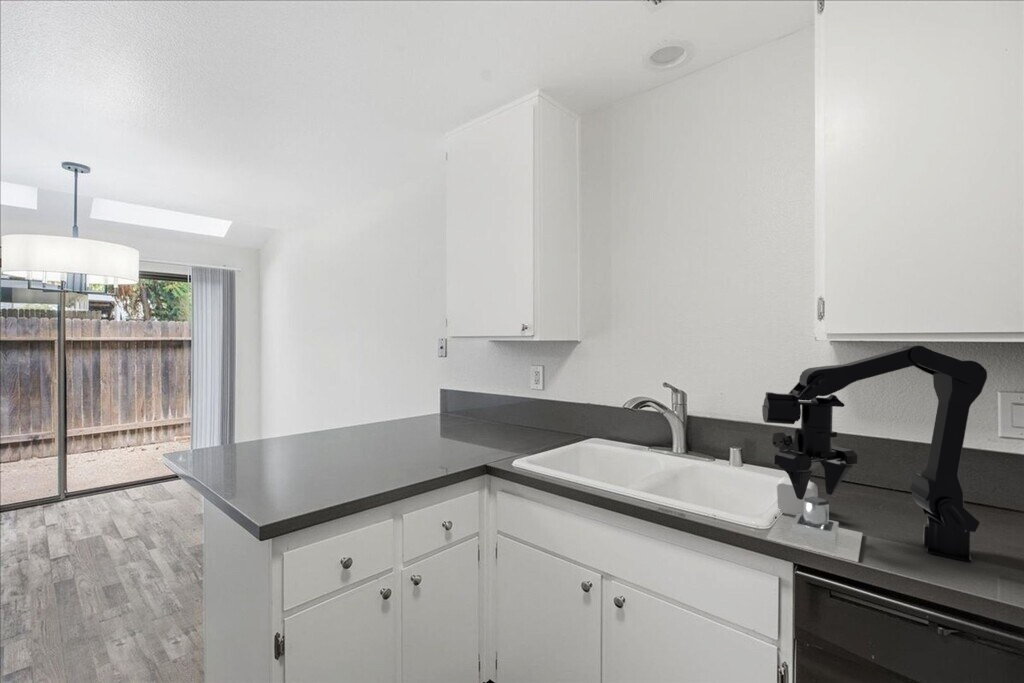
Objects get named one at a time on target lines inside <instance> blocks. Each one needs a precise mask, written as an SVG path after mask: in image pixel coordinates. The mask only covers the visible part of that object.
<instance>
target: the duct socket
mask: <svg viewBox="0 0 1024 683" xmlns="http://www.w3.org/2000/svg"><path fill="white" fill-rule="evenodd" d="M839 524H840V523H839V521H836V520H832V519H829V531H828V530H824V529H819V528H815V527H810V526H806V525H804V515H803V514H799V513H798V514H797V515H796V516H794V517H792V516H787V515H783V514H780V515H779V516H778V518H777V520H776V521H775V523H774V524H773V526H772V528H771V529H770V531H769V532H768V534H767V535H766V540H769V541H773V542H777V543H779V544H785V545H788V546H793V547H797V548H800V549H805V550H807V551H808V550H809V551H814V552H817V553H820V554H823V555H828V556H833V557H836V558H840V559H843V560H844V559H845V560H848V561H852V562H856V563H859V559H860V553H861V547H862V541H863V532H861V531H857V530H852V529H847V528H844V527H839Z"/></svg>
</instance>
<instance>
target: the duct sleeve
mask: <svg viewBox="0 0 1024 683" xmlns="http://www.w3.org/2000/svg"><path fill="white" fill-rule="evenodd" d="M829 502H830V501H829V500H826V499H823V498H820V497H815V496H814V497H807V498H804V525H806V526H810V527H815V528H819V529H824V530H828V531H829V520H830V515H829V514H830V504H829Z"/></svg>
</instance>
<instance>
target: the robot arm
mask: <svg viewBox="0 0 1024 683" xmlns="http://www.w3.org/2000/svg"><path fill="white" fill-rule="evenodd" d="M910 367H915V368H917V369H918V370H920V371H922V372H923V373H926V374H928V375H931V376H932V378H933V379H932V380H933V381H932V382H933V388H934V392H935V394H936V398H937V402H938V403H937V407H936V409H937V410H936V414H935V415H936V416H935V419H934V420H935V421H934V425H933V431H932V432H933V433H932V438H931V443H930V450H929V454H928V460H927V465H926V468H925V469H924V470H923V471H922V473H921V474H920V473H916V472H912V477H911V480H912V481H911V486H910V487H909V489H908V490H909V491H910V492H911V496H912V499H913V500H914V502H915V503H916V505H917V506H919V507H920V508H921V509H922V513H923V514H924V515H926V516H927V523H923V541H922V542H923V546H924V547H925V548H926V553H929V554H933V555H937V556H941V557H945V558H949V559H954V560H958V561H959V560H960V561H964V562H966V563H967V562H968V563H972V557H971V532H972V533H975V532H976V531H977V529H978V527H979V525H980V521H979V520H978V519H976V518H975V517H974V516H973V515H972V514H971V513H970V512H969V511H968V510H966V508H965V501H964V500H965V499H964V498H965V497H964V491H963V488H962V487H963V486H962V484H961V482H960V478H959V469H960V466H961V459H962V453H963V447H964V441H965V436H966V431H967V430H966V429H967V424H968V420H969V413H970V409H971V406H972V404H973V403H974V402H975V401H976V400H977V399H978V397H979V396H980V395H981V394H982V392H983V390H984V387H985V384H986V382H987V379H988V372H987V369H986V368H985V367H984V366H983V365H982V364H981V363H979V362H977V361H974V360H971V359H969V360H968V359H958V358H955V357H952V356H949V355H946V354H944V353H942V352H941V353H940V352H937V351H934V350H931V349H929V348H927V347H926V346H924V345H916V344H915V345H914V344H909V345H908V344H907V345H905V346H902V347H901V348H897V349H894V350H891V351H887V352H883V353H879V354H876V355H873V356H869V357H865V358H862V359H859V360H854V361H851V362H848V363H844V364H835V365H824V366H815V367H808V368H806V369H804V370H803V371H801V373H800V376H799V380H798V382H797V384H796V385H794V387H793V388H792V389H791V390H790V391H789V392H788V393H777V392H771V391H767V392H765V397H764V400H763V404H762V407H761V408H762V410H761V411H762V420H763V422H764V423H768V424H781V425H782V424H783V425H795V423H796V422H799V420H801V422H800V427H799V428H796V429H795V431H794V434H793V435H786V433H785V432H782V431H781V432H775V433H773V434H772V441H771V442H772V446H773V447H774V448H775V449H777V448H778V451H776V452H775V453H774V455H773V464H774V465H777V466H778V468H779V469H783V470H784V471H785V473H787V476H788V478H790V480H791V483H792V485H793V488H794V491H795V494H796V497H797V498H798V499H800V500H802V499H803V497H804V495H805V492H806V489H807V486H808V483H809V481H810V479H811V477H812V476H811V475H812V473H813V471H812V470H810V469H811V467H812V464H813V463H820V465H821V466H822V467H823V469H824V485H825V486H824V487H825V492H826V495H829V496H832V495H834V493H835V491H836V489H837V488H838V486H839V485H840V483H841V482H842V480H843V479H844V478H845V477H846V475H847V473H848V472H849V471H850V469H852V468H853V467H854V466H853V465H857V464H858V454H857V453H856V452H855V450H853V449H849V448H845V447H840V446H836V445H833V438H837V437H838V432H837V431H833V407H836V408H838V407H839V408H843V407H845V403H843V401H841V400H840V399H839V398H838V396H837V395H835V393H837V392H839V391H840V390H843V389H845V388H846V387H848V386H850V385H851V384H853V383H856V382H858V381H863V380H865V379H869V378H872V377H877V376H879V375H880V376H881V375H884V374H888V373H891V372H895V371H899V370H902V369H903V370H904V369H906V368H910ZM826 396H828V397H826Z"/></svg>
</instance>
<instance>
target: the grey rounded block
mask: <svg viewBox="0 0 1024 683" xmlns="http://www.w3.org/2000/svg"><path fill="white" fill-rule="evenodd" d="M818 493H819V492H818V486H817V484H816V483H814V481H813V482H812V481H810V480H809V483H808V486H807V489H806V492H805V495H804V497H803V499H802V500H800V499H798V498H797V497H796V494H795V491H794V488H793V485H792V483H791V480H790V478H789V476H788V477H787V476H785V477H781V478H780V480H779V482H778V483H777V486H776V497H777V509H778V508H779V509H781V511H782V512H781V511H780V512H781V513H783V514H787V515H791V516H794V517H796V515H797V514H798V513H799V514H803V515H804V498H807V497H814V496H815V497H818V495H819V494H818ZM818 498H819V497H818ZM779 509H778V510H779Z"/></svg>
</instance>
